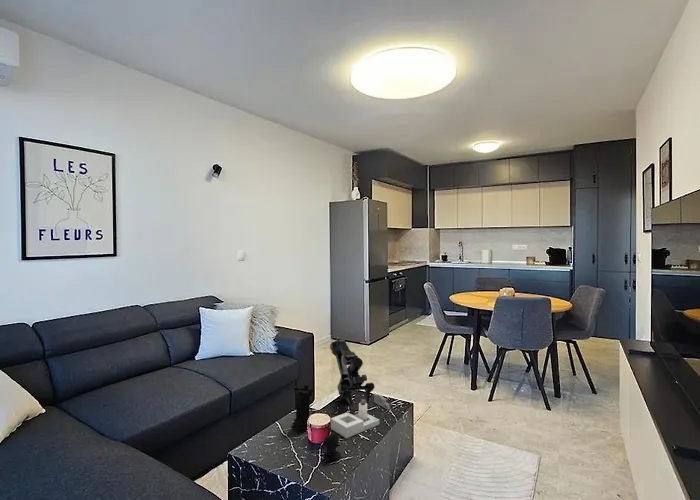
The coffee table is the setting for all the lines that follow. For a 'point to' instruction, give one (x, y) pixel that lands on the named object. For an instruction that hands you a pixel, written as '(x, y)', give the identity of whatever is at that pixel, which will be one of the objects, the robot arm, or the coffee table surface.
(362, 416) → the plug
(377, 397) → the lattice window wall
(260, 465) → the coffee table surface
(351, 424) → the jack housing
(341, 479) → the coffee table surface
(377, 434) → the coffee table surface
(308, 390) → the chess piece
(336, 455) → the webcam
